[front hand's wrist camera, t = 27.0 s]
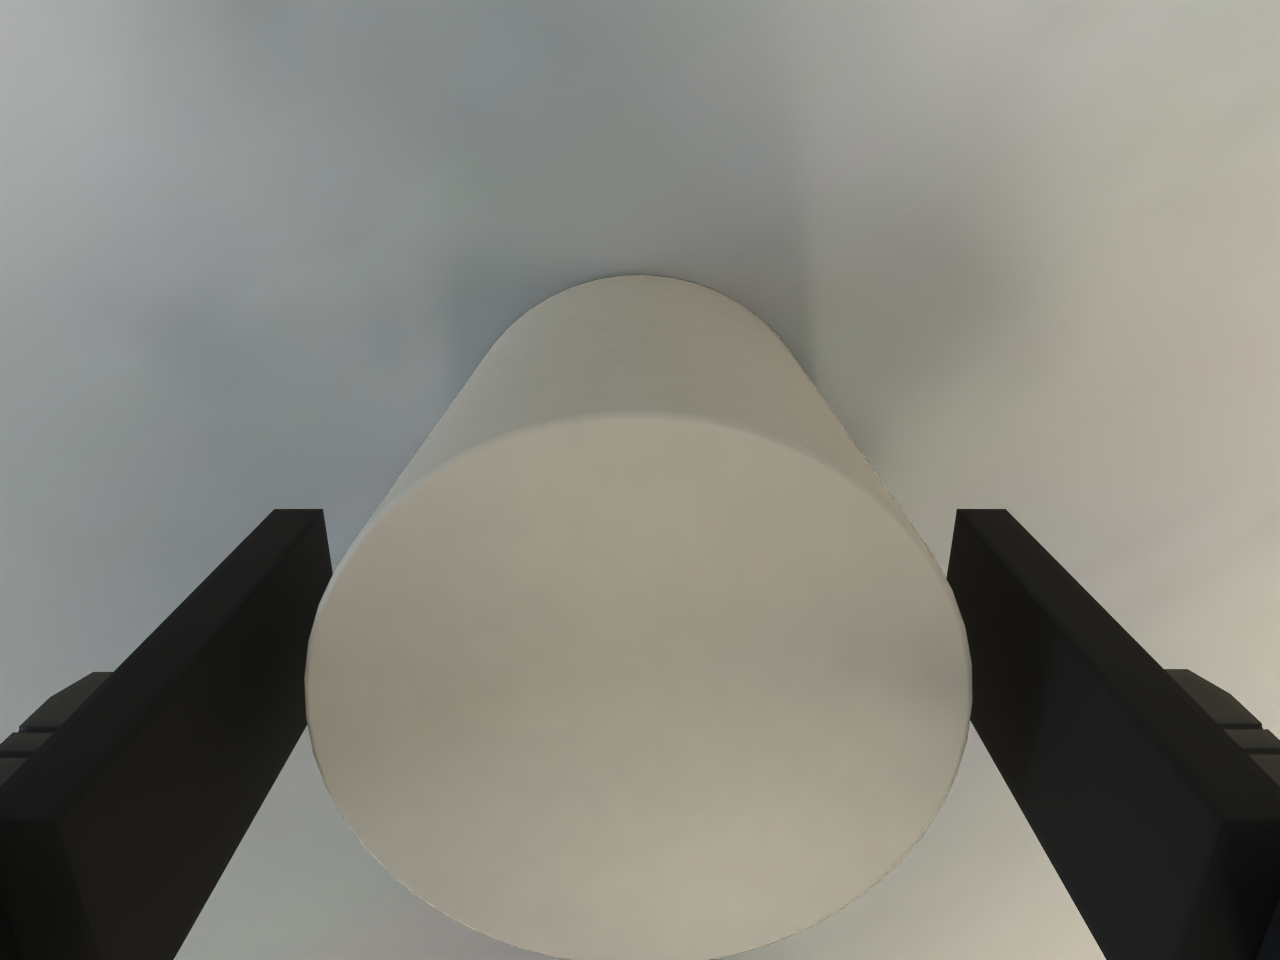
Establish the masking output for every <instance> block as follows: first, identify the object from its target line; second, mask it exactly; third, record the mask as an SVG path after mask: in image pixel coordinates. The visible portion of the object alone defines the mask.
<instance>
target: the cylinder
mask: <svg viewBox="0 0 1280 960" xmlns="http://www.w3.org/2000/svg"><path fill="white" fill-rule="evenodd" d="M304 683H305V704H306V719H307V724H308V729H309V734H310V739H311V743H312V748H313V753H314V756H315V759H316V761H317V764H318V767H319V770H320V772H321V775H322V778H323V780H324V783H325V786H326V788H327V790H328V792H329V794H330V795H331V797H332V799H333V801H334V803H335V805H336V807H337V808H338V810H339V812H340V814H341V816H342V818H343V819H344V821H345V822H346V823H347V825H348V826H349V827H350V829H351V830H352V831H353V833H354V834H355V836H356V837H357V838H358V840H359V841H360V842H361V844H362V845H363V846H364V848H365V849H366V850H367V851H368V852H369V853H370V854H371V855H372V856H373V857H374V858H375V859H376V860H377V861H378V862H379V864H380V865H381V866H382V867H383V868H384V869H385V870H386V871H387V872H388V873H389V874H390V875H391V876H393V877H394V878H395V879H396V880H397V881H399V882H400V883H401V884H402V885H403V886H405V887H406V888H407V889H408V890H410V891H411V892H412V893H413V894H414V895H416V896H417V897H418V898H420V899H421V900H423V901H424V902H426V903H427V904H429V905H430V906H432V907H434V908H435V909H437V910H438V911H440V912H441V913H443V914H444V915H446V916H447V917H449V918H451V919H453V920H455V921H457V922H459V923H461V924H463V925H465V926H467V927H469V928H471V929H473V930H475V931H477V932H479V933H481V934H483V935H486V936H488V937H491V938H494V939H496V940H499V941H501V942H504V943H507V944H509V945H512V946H514V947H517V948H521V949H525V950H528V951H532V952H536V953H539V954H543V955H547V956H550V957H555V958H561V959H567V960H711V959H716V958H721V957H726V956H730V955H735V954H740V953H743V952H746V951H749V950H752V949H756V948H759V947H762V946H765V945H768V944H771V943H775V942H777V941H779V940H782V939H784V938H786V937H789V936H791V935H793V934H796V933H798V932H800V931H803V930H805V929H807V928H810V927H811V926H813V925H815V924H817V923H818V922H820V921H822V920H824V919H826V918H827V917H829V916H831V915H833V914H835V913H836V912H838V911H840V910H842V909H843V908H844V907H846V906H847V905H849V904H850V903H851V902H853V901H854V900H856V899H857V898H858V897H860V896H861V895H863V894H864V893H865V892H867V891H868V890H870V889H871V888H872V887H873V886H874V885H876V884H877V883H878V882H879V881H880V880H881V879H882V878H883V877H884V876H885V875H887V874H888V873H889V872H890V871H891V870H892V869H893V868H894V867H895V866H896V865H898V864H899V862H900V861H901V860H902V859H903V858H904V857H905V855H906V854H907V853H908V852H909V851H910V850H911V848H912V847H913V846H914V845H915V844H916V843H917V842H918V840H919V839H920V838H921V837H922V835H923V834H924V832H925V831H926V829H927V828H928V826H929V825H930V823H931V822H932V820H933V819H934V817H935V816H936V814H937V813H938V811H939V810H940V808H941V806H942V804H943V802H944V800H945V798H946V796H947V794H948V792H949V789H950V787H951V785H952V783H953V781H954V779H955V777H956V775H957V771H958V768H959V765H960V762H961V758H962V755H963V752H964V748H965V745H966V742H967V737H968V730H969V723H970V716H971V709H972V662H971V656H970V651H969V645H968V639H967V634H966V628H965V625H964V622H963V619H962V616H961V613H960V610H959V608H958V605H957V602H956V599H955V596H954V593H953V590H952V589H951V587H950V585H949V583H948V581H947V579H946V577H945V576H944V574H943V572H942V570H941V568H940V566H939V564H938V563H937V561H936V559H935V557H934V555H933V554H932V552H931V551H930V549H929V548H928V547H927V545H926V544H925V542H924V541H923V540H922V538H921V537H920V535H919V534H918V532H917V531H916V530H915V528H914V527H913V525H912V524H911V523H910V521H909V520H908V518H907V517H906V515H905V514H904V513H903V511H902V510H901V508H900V507H899V506H898V504H897V503H896V501H895V500H894V498H893V497H892V496H891V494H890V493H889V491H888V490H887V489H886V487H885V486H884V484H883V483H882V481H881V480H880V479H879V477H878V476H877V474H876V473H875V472H874V470H873V469H872V467H871V466H870V464H869V463H868V462H867V460H866V459H865V457H864V456H863V455H862V453H861V452H860V450H859V449H858V447H857V446H856V445H855V443H854V442H853V440H852V439H851V438H850V436H849V435H848V433H847V432H846V430H845V429H844V428H843V426H842V425H841V423H840V422H839V420H838V419H837V418H836V416H835V415H834V413H833V412H832V411H831V409H830V408H829V406H828V405H827V403H826V402H825V401H824V399H823V398H822V396H821V395H820V394H819V392H818V391H817V389H816V388H815V386H814V385H813V384H812V382H811V381H810V379H809V378H808V377H807V375H806V374H805V372H804V371H803V369H802V368H801V367H800V365H799V364H798V362H797V361H796V360H795V358H794V357H793V355H792V354H791V353H790V351H789V350H788V349H787V347H786V346H785V345H784V343H783V342H782V341H781V339H780V338H779V337H778V336H777V335H776V334H775V333H774V332H773V331H772V330H771V329H770V328H769V327H768V326H767V325H766V324H765V323H764V322H763V321H762V320H761V319H760V318H758V317H757V316H756V315H754V314H753V313H752V312H750V311H749V310H748V309H746V308H745V307H744V306H742V305H741V304H739V303H737V302H735V301H734V300H732V299H730V298H728V297H727V296H725V295H723V294H721V293H719V292H716V291H714V290H711V289H709V288H706V287H704V286H701V285H699V284H696V283H692V282H688V281H683V280H679V279H675V278H670V277H661V276H651V275H629V276H616V277H610V278H604V279H598V280H594V281H590V282H587V283H584V284H581V285H577V286H574V287H571V288H569V289H567V290H565V291H562V292H560V293H558V294H556V295H554V296H551V297H549V298H548V299H546V300H544V301H543V302H541V303H540V304H538V305H537V306H535V307H533V308H532V309H530V310H529V311H527V312H526V313H525V314H524V315H523V316H522V317H520V318H519V319H518V320H517V321H516V322H514V323H513V324H512V325H511V326H510V327H509V328H508V329H507V330H506V331H505V332H504V333H503V335H502V336H501V337H500V338H499V339H498V340H497V341H496V342H495V343H494V345H493V346H492V347H491V349H490V350H489V352H488V353H487V354H486V356H485V357H484V359H483V360H482V361H481V363H480V364H479V366H478V367H477V368H476V370H475V371H474V373H473V374H472V375H471V377H470V378H469V380H468V381H467V382H466V384H465V385H464V387H463V388H462V390H461V391H460V392H459V394H458V395H457V397H456V398H455V399H454V401H453V402H452V404H451V405H450V406H449V408H448V409H447V411H446V412H445V413H444V415H443V416H442V418H441V419H440V420H439V422H438V423H437V425H436V426H435V427H434V429H433V430H432V432H431V433H430V434H429V436H428V437H427V439H426V440H425V441H424V443H423V444H422V446H421V447H420V448H419V450H418V451H417V453H416V454H415V455H414V457H413V458H412V460H411V461H410V462H409V464H408V465H407V467H406V468H405V469H404V471H403V472H402V474H401V475H400V476H399V478H398V479H397V481H396V482H395V483H394V485H393V486H392V488H391V489H390V490H389V492H388V493H387V495H386V496H385V498H384V499H383V500H382V502H381V503H380V505H379V506H378V507H377V509H376V510H375V512H374V513H373V514H372V516H371V517H370V519H369V520H368V521H367V523H366V524H365V526H364V527H363V528H362V530H361V531H360V533H359V534H358V535H357V537H356V538H355V540H354V541H353V543H352V544H351V546H350V547H349V549H348V550H347V552H346V553H345V555H344V556H343V558H342V559H341V561H340V562H339V564H338V565H337V567H336V568H335V570H334V573H333V575H332V577H331V579H330V581H329V583H328V586H327V588H326V590H325V592H324V594H323V596H322V599H321V601H320V603H319V606H318V609H317V613H316V616H315V620H314V623H313V627H312V631H311V634H310V638H309V641H308V650H307V659H306V668H305V677H304Z"/></svg>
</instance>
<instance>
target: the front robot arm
mask: <svg viewBox="0 0 1280 960" xmlns="http://www.w3.org/2000/svg"><path fill="white" fill-rule="evenodd" d="M332 575H333V573H332V566H331V559H330V553H329V546H328V540H327V533H326V526H325V520H324V513H323V509H274V510H273V511H272V512H271V513H270V514H269V515H268V516H267V517H266V518H265V519H264V520H263V521H262V522H261V523H260V524H259V525H258V526H257V527H256V528H255V529H254V530H253V531H252V532H251V533H250V534H249V535H248V536H247V537H246V538H245V539H244V540H243V542H242V543H241V544H240V545H239V546H238V547H237V548H236V549H235V550H234V551H233V552H232V553H231V554H230V555H229V556H228V557H227V558H226V559H225V560H224V561H223V562H222V563H221V564H220V565H219V566H218V567H217V568H216V569H215V570H214V571H213V572H212V573H211V574H210V575H209V576H208V577H207V578H206V579H205V580H204V581H203V582H202V583H201V584H200V585H199V586H198V587H197V588H196V589H195V590H194V591H193V592H192V593H191V594H190V595H189V596H188V597H187V598H186V599H185V600H184V601H183V602H182V603H181V604H180V605H179V606H178V607H177V608H176V609H175V610H174V611H173V612H172V613H171V614H170V615H169V616H168V617H167V618H166V619H165V620H164V621H163V622H162V623H161V624H160V626H159V627H158V628H157V629H156V630H155V631H154V632H153V633H152V634H151V635H150V636H149V637H148V638H147V639H146V640H145V641H144V642H143V643H142V644H141V645H140V646H139V647H138V648H137V649H136V650H135V651H134V652H133V653H132V654H131V655H130V656H129V657H128V658H127V659H126V660H125V661H124V662H123V663H122V664H121V665H120V666H119V667H118V668H117V669H116V670H115V671H114V672H93V673H91V674H89V675H87V676H86V677H84V678H82V679H81V680H79V681H77V682H75V683H74V684H72V685H70V686H69V687H67V688H65V689H63V690H62V691H60V692H58V693H57V694H55V695H53V696H51V697H50V698H49V699H48V700H47V701H46V702H45V703H44V704H43V705H41V706H40V707H39V708H38V709H37V710H36V711H35V712H34V713H33V714H32V715H31V716H30V717H29V718H28V719H27V720H26V721H25V722H24V723H22V724H21V725H20V726H19V732H18V733H12V734H11V735H10V736H9V737H8V738H7V739H6V740H4V741H3V742H2V743H1V744H0V960H174V958H175V956H176V954H177V953H178V951H179V949H180V947H181V946H182V944H183V942H184V940H185V939H186V937H187V935H188V933H189V932H190V930H191V928H192V926H193V924H194V923H195V921H196V919H197V917H198V916H199V914H200V912H201V910H202V909H203V907H204V905H205V903H206V902H207V900H208V898H209V896H210V895H211V893H212V891H213V889H214V888H215V886H216V884H217V882H218V881H219V879H220V877H221V875H222V873H223V872H224V870H225V868H226V866H227V865H228V863H229V861H230V859H231V858H232V856H233V854H234V852H235V851H236V849H237V847H238V845H239V844H240V842H241V840H242V838H243V837H244V835H245V833H246V831H247V830H248V828H249V826H250V824H251V822H252V821H253V819H254V817H255V815H256V814H257V812H258V810H259V808H260V807H261V805H262V803H263V801H264V800H265V798H266V796H267V794H268V793H269V791H270V789H271V787H272V786H273V784H274V782H275V780H276V779H277V777H278V775H279V773H280V771H281V770H282V768H283V766H284V764H285V763H286V761H287V759H288V757H289V756H290V754H291V752H292V750H293V749H294V747H295V745H296V743H297V742H298V740H299V738H300V736H301V735H302V733H303V731H304V729H305V727H306V726H307V719H306V704H305V683H304V677H305V668H306V659H307V650H308V641H309V638H310V634H311V631H312V627H313V623H314V620H315V616H316V613H317V609H318V606H319V603H320V601H321V599H322V596H323V594H324V592H325V590H326V588H327V586H328V583H329V581H330V579H331V577H332ZM947 581H948V583H949V585H950V587H951V589H952V590H953V593H954V596H955V599H956V602H957V605H958V608H959V610H960V613H961V616H962V619H963V622H964V625H965V628H966V634H967V639H968V645H969V651H970V656H971V662H972V709H971V716H970V720H971V722H972V724H973V726H974V727H975V729H976V731H977V733H978V735H979V736H980V738H981V740H982V742H983V743H984V745H985V747H986V749H987V750H988V752H989V754H990V756H991V757H992V759H993V761H994V763H995V764H996V766H997V768H998V770H999V771H1000V773H1001V775H1002V777H1003V778H1004V780H1005V782H1006V784H1007V786H1008V787H1009V789H1010V791H1011V793H1012V794H1013V796H1014V798H1015V800H1016V801H1017V803H1018V805H1019V807H1020V808H1021V810H1022V812H1023V814H1024V815H1025V817H1026V819H1027V821H1028V822H1029V824H1030V826H1031V828H1032V829H1033V831H1034V833H1035V835H1036V837H1037V838H1038V840H1039V842H1040V844H1041V845H1042V847H1043V849H1044V851H1045V852H1046V854H1047V856H1048V858H1049V859H1050V861H1051V863H1052V865H1053V866H1054V868H1055V870H1056V872H1057V873H1058V875H1059V877H1060V879H1061V880H1062V882H1063V884H1064V886H1065V888H1066V889H1067V891H1068V893H1069V895H1070V896H1071V898H1072V900H1073V902H1074V903H1075V905H1076V907H1077V909H1078V910H1079V912H1080V914H1081V916H1082V917H1083V919H1084V921H1085V923H1086V924H1087V926H1088V928H1089V930H1090V931H1091V933H1092V935H1093V937H1094V939H1095V940H1096V942H1097V944H1098V946H1099V947H1100V949H1101V951H1102V953H1103V954H1104V956H1105V958H1106V960H1280V740H1279V739H1278V738H1277V737H1276V736H1274V735H1273V734H1272V733H1271V732H1270V731H1269V730H1263V729H1262V723H1261V722H1260V721H1259V720H1257V719H1256V718H1255V717H1254V716H1253V715H1252V714H1251V713H1250V712H1249V711H1248V710H1247V709H1246V708H1245V707H1244V706H1243V705H1241V704H1240V703H1239V702H1238V701H1237V700H1236V699H1235V698H1234V697H1233V696H1232V695H1231V694H1229V693H1228V692H1226V691H1224V690H1222V689H1221V688H1219V687H1217V686H1215V685H1214V684H1212V683H1210V682H1209V681H1207V680H1205V679H1203V678H1202V677H1200V676H1198V675H1196V674H1195V673H1193V672H1191V671H1190V670H1188V669H1163V668H1162V667H1161V666H1160V665H1159V664H1158V663H1157V662H1156V661H1155V660H1154V659H1153V658H1152V657H1151V656H1150V655H1149V654H1148V653H1147V652H1146V651H1145V650H1144V649H1143V648H1142V647H1141V646H1140V645H1139V644H1138V643H1137V642H1136V641H1135V640H1134V639H1133V638H1132V637H1131V636H1130V635H1129V634H1128V633H1127V632H1126V631H1125V630H1124V629H1123V628H1122V627H1121V625H1120V624H1119V623H1118V622H1117V621H1116V620H1115V619H1114V618H1113V617H1112V616H1111V615H1110V614H1109V613H1108V612H1107V611H1106V610H1105V609H1104V608H1103V607H1102V606H1101V605H1100V604H1099V603H1098V602H1097V601H1096V600H1095V599H1094V598H1093V597H1092V596H1091V595H1090V594H1089V593H1088V592H1087V591H1086V590H1085V589H1084V588H1083V587H1082V586H1081V585H1080V584H1079V583H1078V582H1077V581H1076V580H1075V579H1074V578H1073V577H1072V576H1071V575H1070V574H1069V573H1068V572H1067V571H1066V570H1065V569H1064V568H1063V567H1062V566H1061V565H1060V564H1059V563H1058V562H1057V561H1056V560H1055V559H1054V558H1053V557H1052V556H1051V555H1050V554H1049V553H1048V552H1047V551H1046V550H1045V549H1044V548H1043V547H1042V546H1041V545H1040V544H1039V543H1038V541H1037V540H1036V539H1035V538H1034V537H1033V536H1032V535H1031V534H1030V533H1029V532H1028V531H1027V530H1026V529H1025V528H1024V527H1023V526H1022V525H1021V524H1020V523H1019V522H1018V521H1017V520H1016V519H1015V518H1014V517H1013V516H1012V515H1011V514H1010V513H1009V512H1008V511H1007V510H1006V509H957V513H956V520H955V526H954V533H953V540H952V546H951V553H950V560H949V566H948V573H947Z"/></svg>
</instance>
